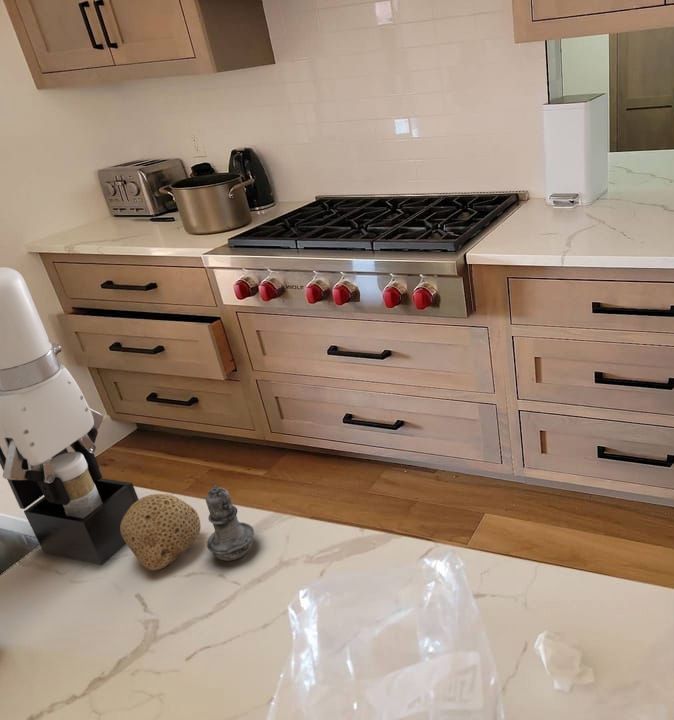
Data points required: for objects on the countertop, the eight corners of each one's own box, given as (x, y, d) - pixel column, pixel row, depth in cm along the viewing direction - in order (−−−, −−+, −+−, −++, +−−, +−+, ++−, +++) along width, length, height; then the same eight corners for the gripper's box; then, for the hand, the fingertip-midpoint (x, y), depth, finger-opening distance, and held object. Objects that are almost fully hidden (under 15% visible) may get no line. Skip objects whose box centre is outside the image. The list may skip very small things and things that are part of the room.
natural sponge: (200, 527, 96) (180, 469, 92) (216, 562, 89) (195, 501, 85) (132, 555, 92) (107, 496, 88) (143, 594, 85) (117, 532, 81)
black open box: (150, 529, 97) (132, 482, 93) (105, 571, 90) (83, 522, 86) (94, 519, 100) (75, 473, 96) (46, 558, 93) (23, 511, 89)
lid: (49, 404, 91) (22, 400, 93) (-8, 439, 84) (-37, 433, 85) (76, 471, 96) (49, 466, 98) (24, 509, 89) (-4, 503, 91)
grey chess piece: (224, 581, 86) (198, 506, 81) (207, 558, 90) (181, 485, 85) (267, 557, 89) (245, 483, 84) (248, 536, 93) (226, 465, 88)
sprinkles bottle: (90, 529, 97) (56, 451, 91) (121, 527, 97) (89, 449, 91) (73, 552, 93) (36, 471, 87) (105, 550, 92) (71, 469, 86)
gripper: (58, 338, 91) (104, 451, 99) (-67, 402, 77) (-1, 527, 85) (101, 341, 89) (144, 457, 97) (-20, 407, 74) (43, 536, 83)
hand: (76, 489), depth 91 cm, fingers closed on sprinkles bottle, 4 cm apart
